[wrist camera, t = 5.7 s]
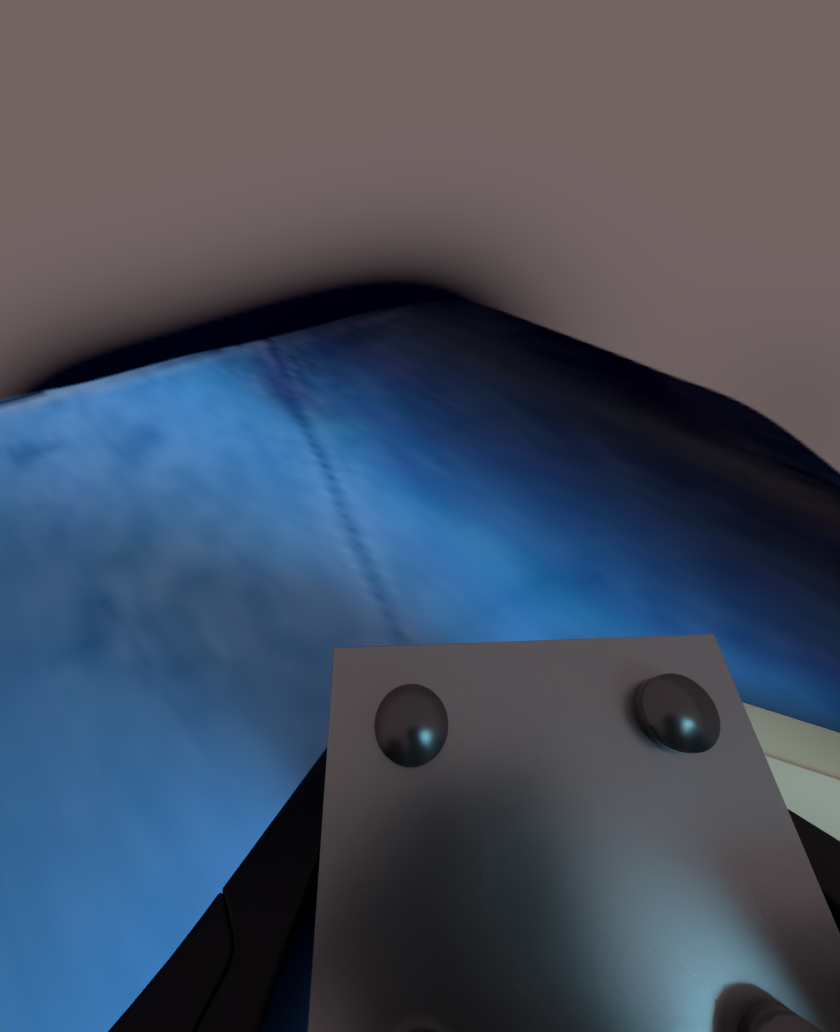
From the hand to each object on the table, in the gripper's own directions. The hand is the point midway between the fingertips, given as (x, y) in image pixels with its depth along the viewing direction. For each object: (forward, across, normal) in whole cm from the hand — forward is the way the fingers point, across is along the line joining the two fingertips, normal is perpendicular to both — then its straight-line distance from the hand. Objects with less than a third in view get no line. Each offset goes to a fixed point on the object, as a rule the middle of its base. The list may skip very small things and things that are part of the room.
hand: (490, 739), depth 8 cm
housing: (+4, 0, +6) cm, 7 cm away
